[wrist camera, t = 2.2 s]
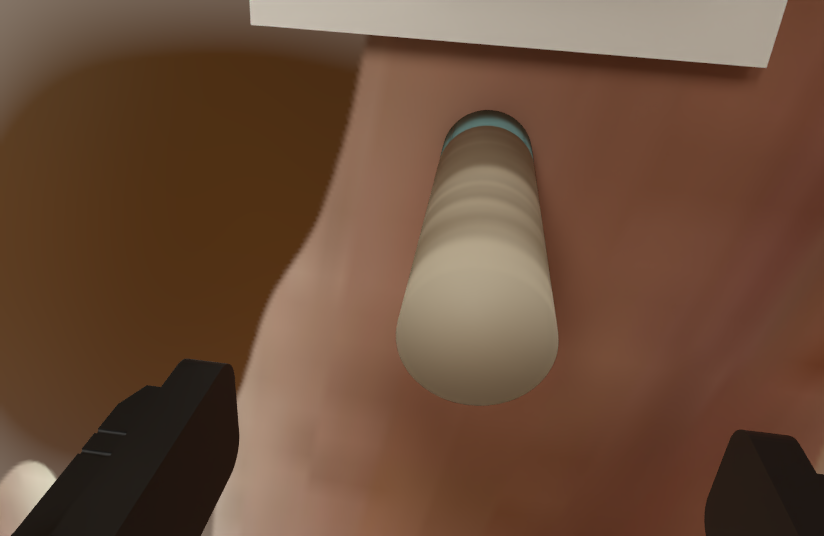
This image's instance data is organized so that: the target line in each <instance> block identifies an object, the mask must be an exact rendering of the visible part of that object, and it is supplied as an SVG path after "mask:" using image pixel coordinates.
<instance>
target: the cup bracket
mask: <svg viewBox="0 0 824 536" xmlns="http://www.w3.org/2000/svg"><path fill="white" fill-rule="evenodd" d="M787 1H788V0H250V18H251V25H260V26H272V27H283V28H295V29H308V30H319V31H320V30H321V31H331V32H343V33H355V34H367V35H379V36H391V37H403V38H415V39H427V40H439V41H450V42H462V43H474V44H486V45H498V46H510V47H522V48H534V49H546V50H558V51H570V52H582V53H594V54H606V55H618V56H629V57H641V58H653V59H665V60H677V61H689V62H701V63H713V64H725V65H737V66H749V67H761V68H767V65H768V61H769V58H770V55H771V52H772V49H773V45H774V42H775V39H776V36H777V33H778V29H779V26H780V23H781V20H782V17H783V13H784V10H785V7H786V4H787Z"/></svg>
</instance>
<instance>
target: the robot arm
mask: <svg viewBox="0 0 824 536" xmlns="http://www.w3.org/2000/svg"><path fill="white" fill-rule="evenodd" d="M238 447H239V426H238V413H237V401H236V389H235V376H234V370H233V368H232V366H231V365H230V364H225V363H218V362H209V361H202V360H194V359H184V360H182V361H181V362H180V363H179V364H178V365H177V366H176V368H175V369H174V371H173V372H172V373H171V375H170V376H169V377H168V378H167V380H166V381H165V382H164V384H163V385H162V387H156V386H148V385H147V386H145V387H144V388H142V389H141V390H139V391H138V392H136V393H134V394H133V395H131V396H130V397H128V398H127V399H125V400H124V401H122V402H121V403H119V404H118V405H117V406H116V407H115V409H114V410H113V411H112V412H111V413H110V415H109V416H108V417H107V418H106V420H105V421H104V422H103V423H102V425H101V426H100V427H99V428H98V433H94V434H93V436H92V437H91V438H90V439H89V441H88V442H87V443H86V444H85V446H84V447H83V448H82V452H81V454H77V455H76V457H75V458H74V459H73V460H72V461H71V463H70V464H69V465H68V467H67V468H66V469H65V470H64V471H63V473H62V474H61V475H60V476H59V478H58V479H57V480H56V481H55V482H54V484H53V485H52V486H51V487H50V489H49V490H48V491H47V492H46V494H45V495H44V496H43V497H42V498H41V500H40V501H39V502H38V503H37V505H36V506H35V507H34V508H33V510H32V511H31V512H30V513H29V514H28V516H27V517H26V518H25V519H24V521H23V522H22V523H21V524H20V526H19V527H18V528H17V529H16V531H15V532H14V533H13V534H12V535H11V536H201V534H202V532H203V530H204V528H205V526H206V524H207V522H208V520H209V518H210V516H211V514H212V512H213V510H214V508H215V506H216V504H217V502H218V500H219V498H220V496H221V494H222V492H223V490H224V488H225V486H226V484H227V482H228V480H229V478H230V475H231V473H232V471H233V468H234V465H235V462H236V458H237V453H238ZM705 532H706V536H824V475H823V474H817V473H816V471H815V470H814V468H813V466H812V465H811V463H810V461H809V460H808V458H807V456H806V455H805V453H804V451H803V449H802V448H801V446H800V444H799V443H798V442H797V440H796V439H795V438H793V437H791V436H787V435H779V434H771V433H763V432H755V431H748V430H737V431H735V433H734V434H733V435H732V436H731V438H730V441H729V443H728V446H727V448H726V451H725V454H724V456H723V459H722V462H721V464H720V467H719V469H718V472H717V475H716V477H715V480H714V482H713V485H712V488H711V490H710V493H709V496H708V498H707V502H706V507H705Z"/></svg>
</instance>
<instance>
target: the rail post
mask: <svg viewBox="0 0 824 536" xmlns="http://www.w3.org/2000/svg"><path fill="white" fill-rule="evenodd" d="M558 343H559V342H558V329H557V322H556V315H555V308H554V301H553V294H552V287H551V280H550V273H549V266H548V259H547V252H546V245H545V238H544V231H543V224H542V217H541V210H540V203H539V196H538V189H537V182H536V175H535V168H534V161H533V154H532V147H531V142H530V139H529V136H528V134H527V132H526V131H525V129H524V128H523V126H522V125H521V124H520V123H519V122H518V121H517V120H515V119H514V118H513V117H511V116H509V115H507V114H505V113H502V112H499V111H493V110H483V111H477V112H473V113H471V114H468V115H466V116H465V117H463V118H461V119H460V120H459V121H458V122H456V123H455V124H454V125H453V127H452V128H451V129H450V131H449V132H448V134H447V136H446V138H445V141H444V145H443V149H442V152H441V156H440V160H439V164H438V168H437V172H436V176H435V179H434V183H433V187H432V191H431V195H430V199H429V203H428V206H427V210H426V214H425V218H424V222H423V226H422V230H421V233H420V237H419V241H418V245H417V249H416V253H415V257H414V260H413V264H412V268H411V272H410V276H409V280H408V284H407V287H406V291H405V295H404V299H403V303H402V307H401V311H400V314H399V318H398V322H397V328H396V344H397V349H398V353H399V356H400V358H401V360H402V362H403V364H404V366H405V368H406V369H407V371H408V372H409V374H410V375H411V376H412V377H413V378H414V379H415V380H416V381H417V382H418V383H419V384H420V385H421V386H422V387H424V388H425V389H427V390H428V391H430V392H431V393H433V394H435V395H437V396H439V397H441V398H443V399H446V400H448V401H452V402H455V403H460V404H465V405H475V406H485V405H495V404H500V403H504V402H508V401H511V400H513V399H516V398H518V397H520V396H522V395H524V394H526V393H528V392H529V391H531V390H532V389H533V388H535V387H536V386H537V385H538V384H539V383H540V382H541V381H542V380H543V379H544V378H545V377H546V375H547V374H548V372H549V371H550V369H551V368H552V366H553V363H554V361H555V358H556V355H557V351H558Z"/></svg>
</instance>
